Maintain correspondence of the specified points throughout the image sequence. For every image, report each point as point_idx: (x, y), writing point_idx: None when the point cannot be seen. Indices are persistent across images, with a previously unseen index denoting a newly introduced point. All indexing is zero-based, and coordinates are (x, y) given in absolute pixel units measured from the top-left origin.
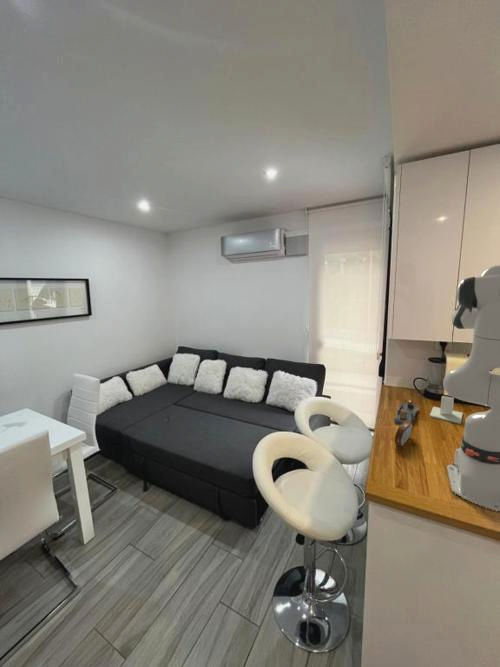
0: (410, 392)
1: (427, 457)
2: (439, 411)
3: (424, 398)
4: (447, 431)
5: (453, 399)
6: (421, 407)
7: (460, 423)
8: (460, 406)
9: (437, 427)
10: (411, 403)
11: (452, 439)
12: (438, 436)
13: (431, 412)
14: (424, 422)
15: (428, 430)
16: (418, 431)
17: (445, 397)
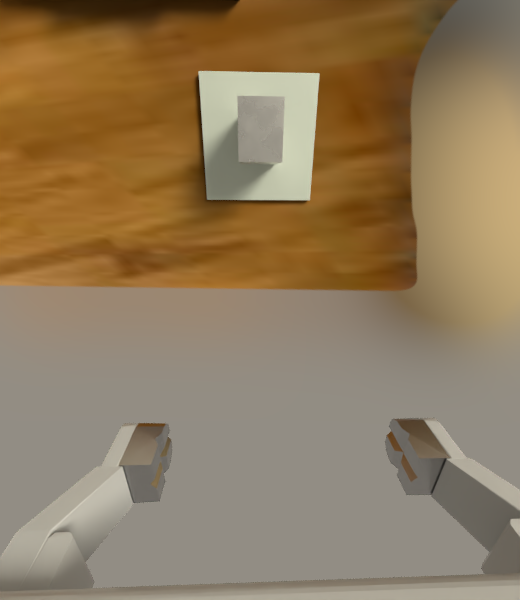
0: None
1: None
2: None
3: (436, 8)
4: (105, 160)
5: (253, 161)
6: (292, 13)
7: (207, 197)
8: (392, 188)
9: (111, 120)
10: None
11: (54, 181)
12: (34, 133)
13: (236, 74)
14: (118, 59)
15: (53, 88)
16: (6, 47)
17: (262, 118)
